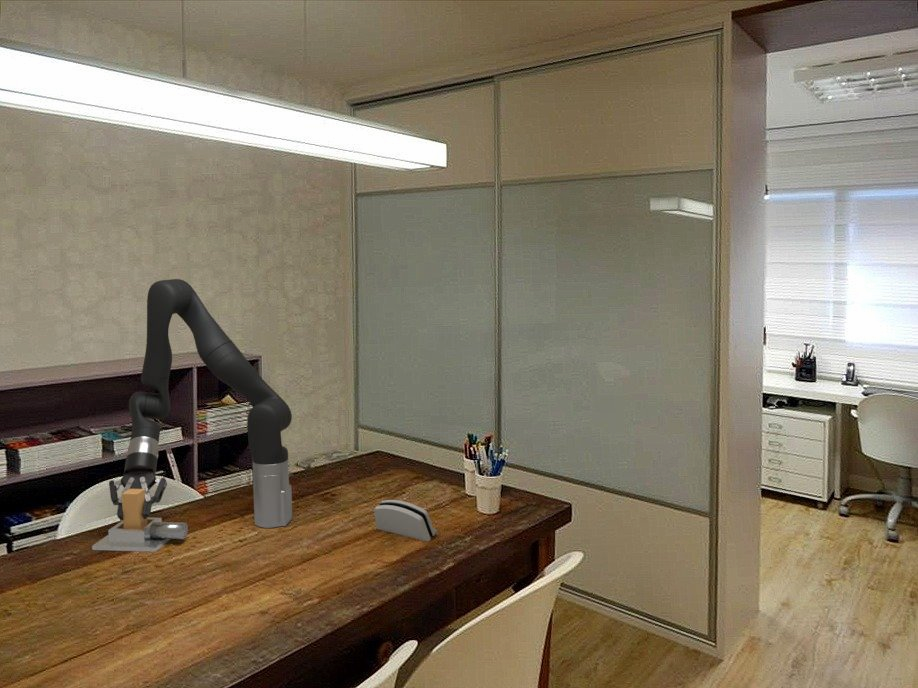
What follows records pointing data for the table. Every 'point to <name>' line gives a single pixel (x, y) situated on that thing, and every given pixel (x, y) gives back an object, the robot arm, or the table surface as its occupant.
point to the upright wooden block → (133, 509)
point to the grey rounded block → (404, 519)
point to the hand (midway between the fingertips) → (133, 518)
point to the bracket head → (142, 536)
